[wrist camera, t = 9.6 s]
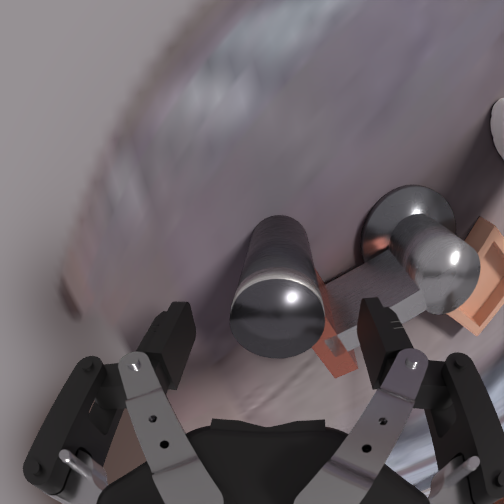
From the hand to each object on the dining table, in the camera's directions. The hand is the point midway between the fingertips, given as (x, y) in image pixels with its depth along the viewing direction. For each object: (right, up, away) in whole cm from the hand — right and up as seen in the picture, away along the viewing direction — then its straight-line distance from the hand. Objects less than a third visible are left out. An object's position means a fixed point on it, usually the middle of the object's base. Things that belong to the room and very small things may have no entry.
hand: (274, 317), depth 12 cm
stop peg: (+1, +4, +9) cm, 10 cm away
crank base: (+12, +4, +8) cm, 15 cm away
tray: (+21, +1, +8) cm, 23 cm away
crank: (+9, +2, +8) cm, 12 cm away
